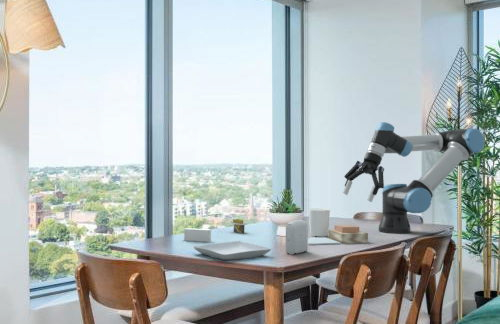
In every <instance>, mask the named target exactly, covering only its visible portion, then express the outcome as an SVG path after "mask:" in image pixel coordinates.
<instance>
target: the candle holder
mask: <svg viewBox="0 0 500 324" xmlns="http://www.w3.org/2000/svg"><path fill="white" fill-rule="evenodd" d="M330 211H331V210H330V209H329V208H309V209H308V223H309V225H308V228H309V236H310V235H311V236H310V237H315V236H317V237H316V238H319V237H324V236H326V237H328V231H329V230H330V214H331V212H330Z"/></svg>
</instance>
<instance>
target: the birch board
mask: <svg viewBox="0 0 500 324" xmlns="http://www.w3.org/2000/svg"><path fill="white" fill-rule="evenodd" d="M327 238H329V239H332V240H334V241H337V242H340V245H341V244H342V245H343V244H344V245H345V244H367V243H369V233H368V232H365V231H362V230H359V233H340V232H337V231H334V229H329V231H328V236H327Z"/></svg>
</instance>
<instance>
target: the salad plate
mask: <svg viewBox="0 0 500 324" xmlns="http://www.w3.org/2000/svg"><path fill="white" fill-rule="evenodd" d="M193 249H194V250H195V251H197V252H198V253H200V254H202V255H205V256H207V257H208V256H209V257H211V258H216V259H219V260H224V261H230V260H231V261H234V260H241V259H248V258H257V256H258V257H260V256H264V255H266V254H268V253H270V252H271V250H272V248H270V247H266V246H263V245H259V244H255V243H250V242H246V241H245V242H244V241H241V240H235V241H228V242H226V241H225V242H218V243H216V242H215V243H209V244H204V245H203V244H202V245H194V246H193Z"/></svg>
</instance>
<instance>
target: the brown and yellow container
mask: <svg viewBox="0 0 500 324" xmlns="http://www.w3.org/2000/svg"><path fill="white" fill-rule="evenodd" d="M232 219H233V218H232ZM230 225H233V232H235V233H238V234H245V226H247V225H248V223H246V222H244V219H239V218H238V219H237V218H235V219H233V220H232V221H231V222H230Z"/></svg>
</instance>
